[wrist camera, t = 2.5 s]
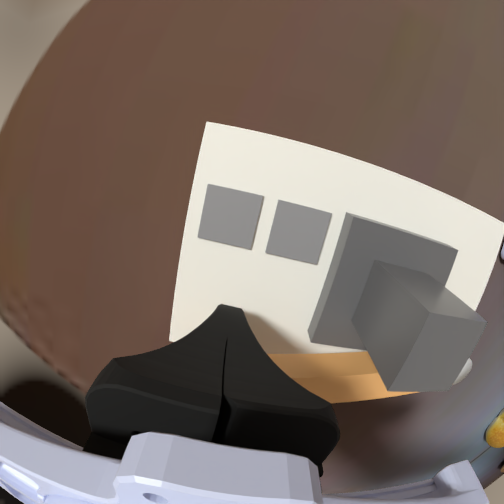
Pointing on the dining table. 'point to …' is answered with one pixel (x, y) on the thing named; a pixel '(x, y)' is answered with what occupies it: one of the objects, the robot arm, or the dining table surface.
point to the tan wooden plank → (341, 375)
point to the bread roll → (496, 431)
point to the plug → (396, 306)
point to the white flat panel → (301, 232)
